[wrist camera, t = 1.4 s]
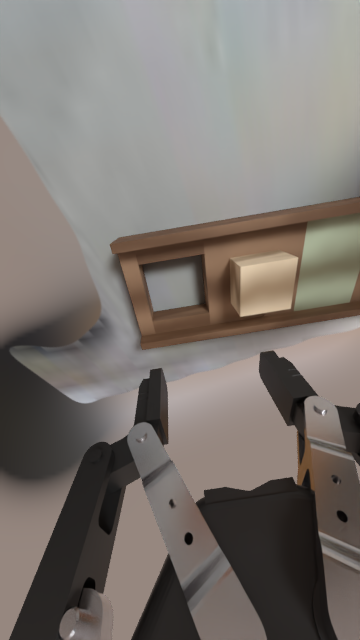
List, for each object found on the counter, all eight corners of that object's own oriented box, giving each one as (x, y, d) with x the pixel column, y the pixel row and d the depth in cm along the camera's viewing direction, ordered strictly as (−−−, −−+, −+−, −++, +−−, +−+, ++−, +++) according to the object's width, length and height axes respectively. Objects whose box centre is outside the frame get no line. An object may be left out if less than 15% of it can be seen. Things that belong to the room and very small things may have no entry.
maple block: (229, 258, 24) (240, 267, 21) (278, 250, 24) (298, 257, 21) (230, 302, 27) (240, 316, 24) (274, 295, 27) (290, 308, 24)
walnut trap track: (119, 237, 25) (109, 244, 21) (458, 180, 24) (521, 174, 20) (145, 330, 32) (142, 349, 28) (409, 287, 31) (448, 300, 27)
